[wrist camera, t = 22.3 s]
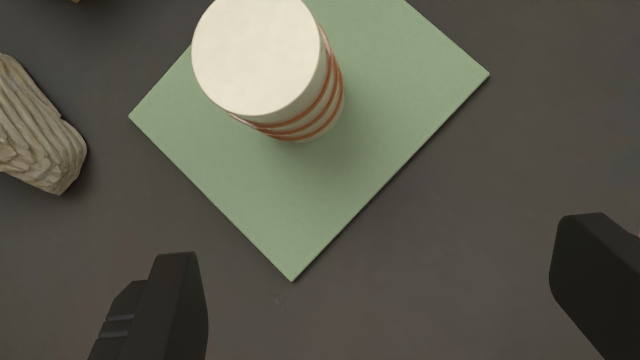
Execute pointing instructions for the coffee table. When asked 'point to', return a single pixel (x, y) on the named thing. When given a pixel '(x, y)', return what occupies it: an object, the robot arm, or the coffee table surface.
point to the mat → (327, 151)
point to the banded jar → (269, 67)
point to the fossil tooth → (35, 134)
